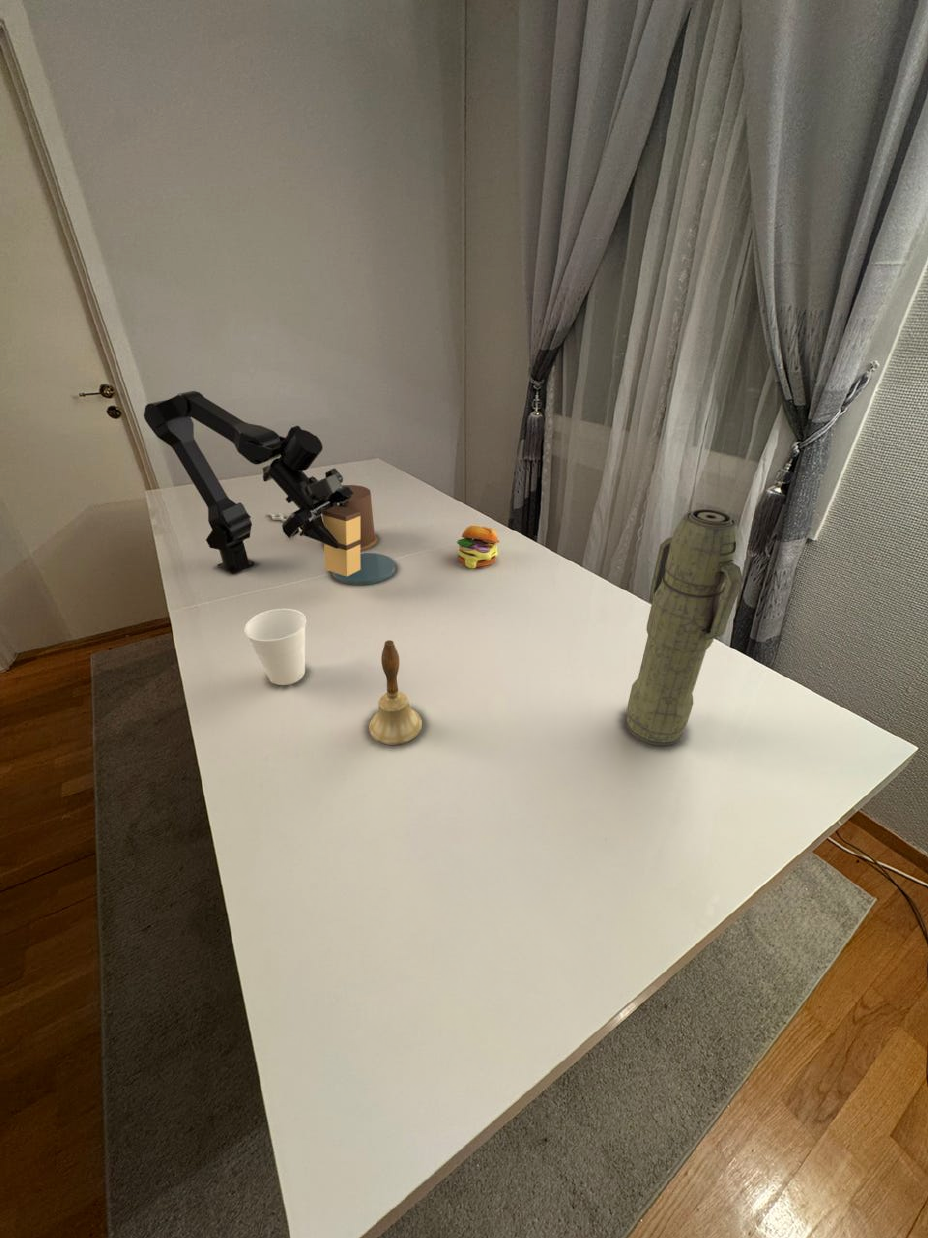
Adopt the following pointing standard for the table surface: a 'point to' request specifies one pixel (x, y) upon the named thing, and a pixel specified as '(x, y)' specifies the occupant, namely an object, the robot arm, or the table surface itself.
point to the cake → (363, 514)
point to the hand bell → (393, 706)
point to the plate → (369, 570)
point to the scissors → (279, 517)
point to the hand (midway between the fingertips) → (346, 541)
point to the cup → (279, 643)
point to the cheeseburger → (478, 546)
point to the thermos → (683, 622)
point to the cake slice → (343, 540)
